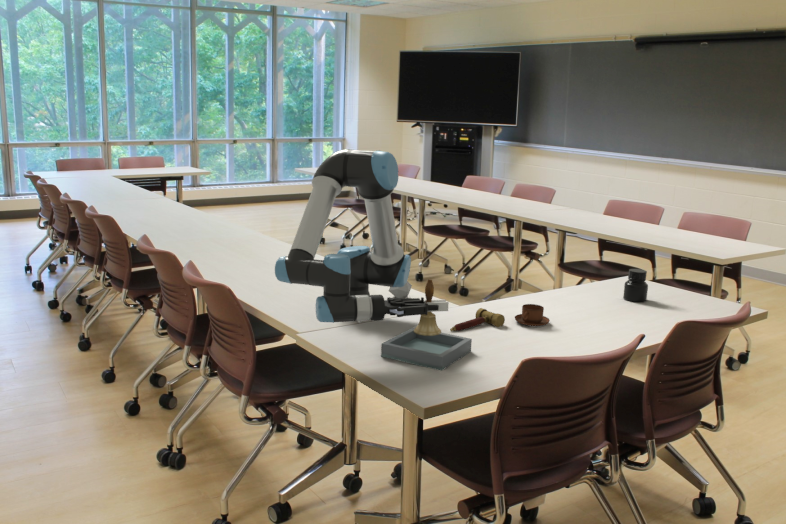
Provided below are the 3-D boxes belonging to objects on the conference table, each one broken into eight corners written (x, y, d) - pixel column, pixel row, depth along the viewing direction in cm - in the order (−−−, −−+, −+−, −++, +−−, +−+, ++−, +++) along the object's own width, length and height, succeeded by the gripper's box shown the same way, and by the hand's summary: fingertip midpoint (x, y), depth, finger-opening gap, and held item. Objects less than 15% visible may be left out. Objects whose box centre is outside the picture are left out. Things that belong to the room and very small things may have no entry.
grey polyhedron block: (413, 301, 272) (417, 279, 276) (397, 293, 267) (401, 270, 271) (398, 305, 278) (402, 282, 282) (383, 297, 273) (387, 274, 277)
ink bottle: (637, 296, 289) (641, 267, 287) (651, 302, 281) (655, 272, 279) (617, 297, 286) (620, 268, 284) (631, 303, 278) (634, 273, 275)
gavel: (460, 327, 230) (440, 319, 238) (460, 340, 232) (440, 332, 239) (505, 313, 243) (484, 306, 251) (505, 326, 244) (484, 319, 252)
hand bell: (409, 329, 213) (411, 277, 210) (433, 326, 216) (436, 276, 213) (420, 337, 206) (423, 283, 203) (446, 334, 209) (449, 282, 206)
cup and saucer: (546, 331, 240) (548, 313, 239) (511, 326, 244) (512, 309, 242) (551, 321, 251) (552, 304, 250) (517, 317, 255) (518, 300, 253)
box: (413, 338, 226) (414, 326, 225) (470, 351, 216) (471, 338, 216) (381, 356, 209) (381, 343, 209) (441, 370, 200) (442, 357, 199)
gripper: (363, 313, 213) (438, 310, 219) (374, 327, 199) (454, 324, 205) (364, 289, 211) (439, 287, 217) (375, 302, 197) (455, 299, 203)
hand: (446, 305), depth 211 cm, fingers closed on hand bell, 2 cm apart
